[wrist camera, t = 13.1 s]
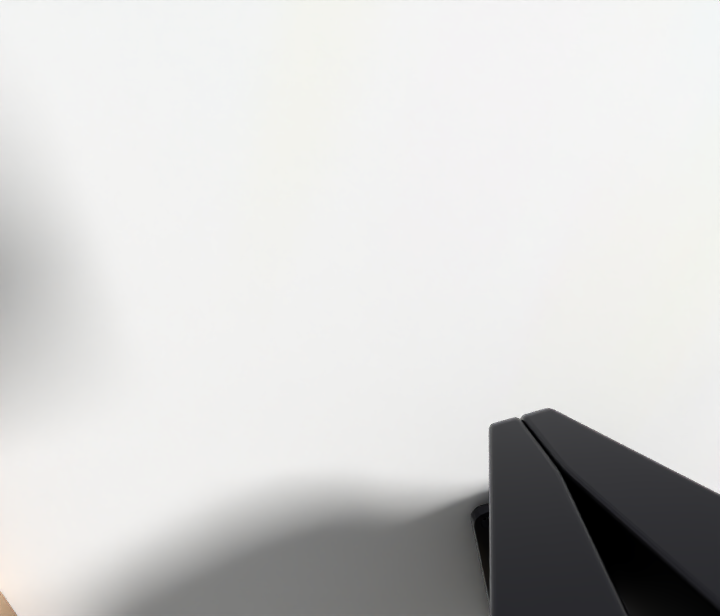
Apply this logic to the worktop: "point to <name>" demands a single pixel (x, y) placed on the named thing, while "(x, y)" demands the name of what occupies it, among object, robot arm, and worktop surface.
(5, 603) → the rail board
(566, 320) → the worktop surface
